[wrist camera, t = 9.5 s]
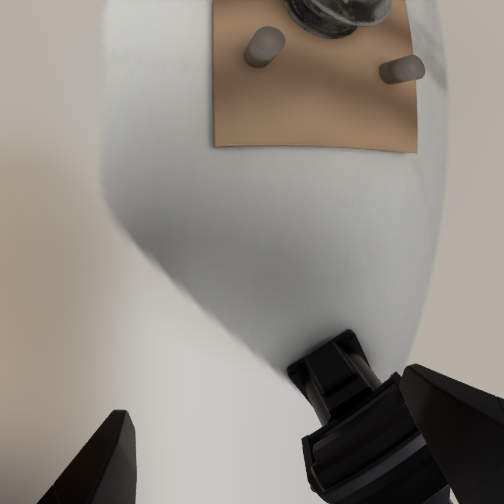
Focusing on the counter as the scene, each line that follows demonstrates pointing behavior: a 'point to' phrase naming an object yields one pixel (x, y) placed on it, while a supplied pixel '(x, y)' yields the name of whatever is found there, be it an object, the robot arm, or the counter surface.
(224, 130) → the peg board
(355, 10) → the dark grey turned piece
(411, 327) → the counter surface
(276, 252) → the counter surface
